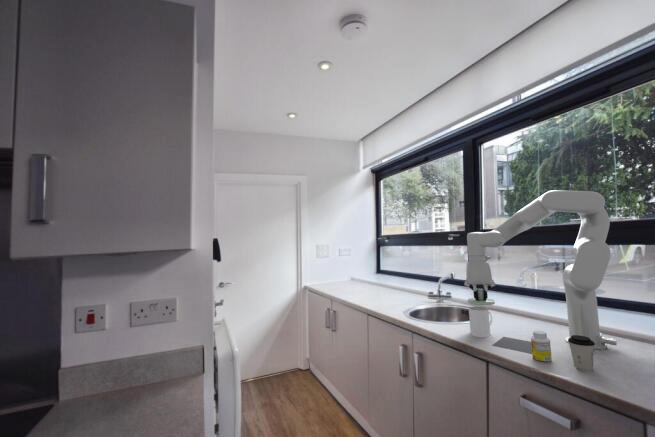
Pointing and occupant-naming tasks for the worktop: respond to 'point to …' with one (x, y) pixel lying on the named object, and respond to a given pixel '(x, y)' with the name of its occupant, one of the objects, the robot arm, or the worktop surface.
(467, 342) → the worktop surface
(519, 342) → the mat
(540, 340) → the supplement bottle
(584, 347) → the coffee cup
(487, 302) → the lid
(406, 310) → the worktop surface
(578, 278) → the robot arm
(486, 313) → the mug
